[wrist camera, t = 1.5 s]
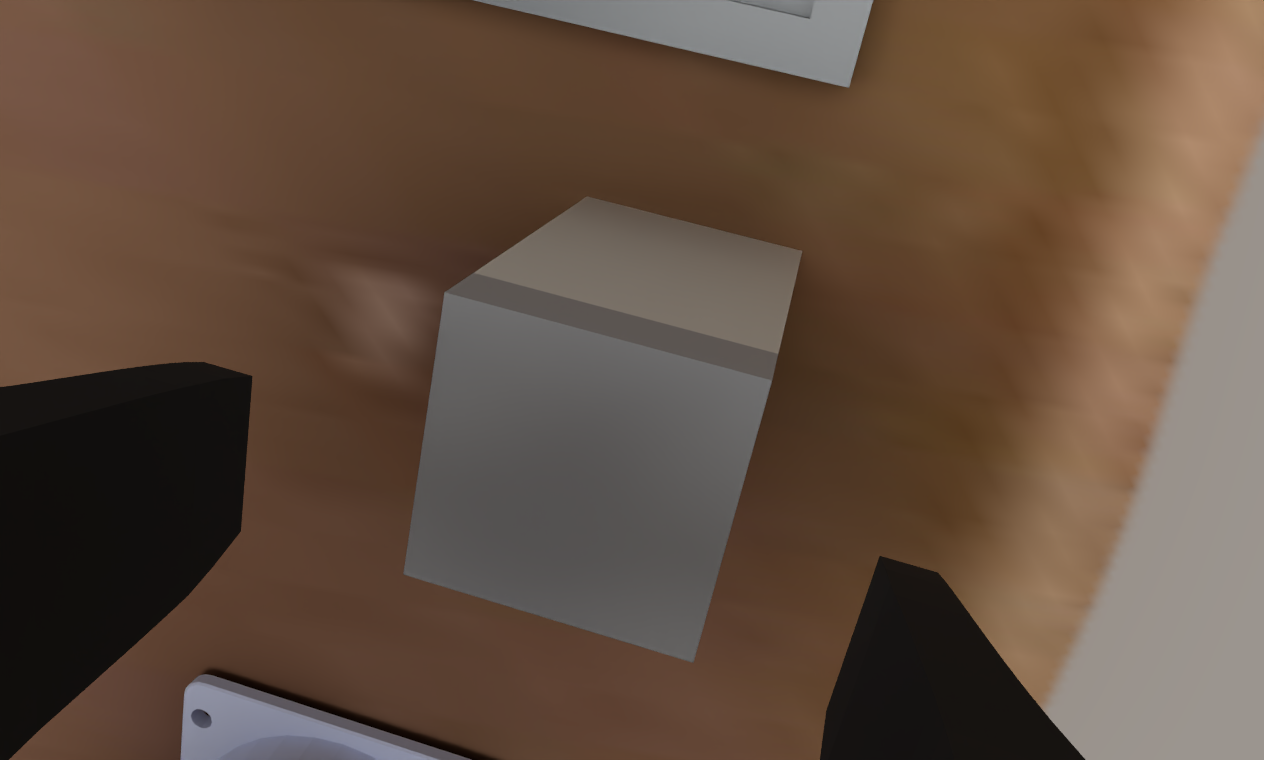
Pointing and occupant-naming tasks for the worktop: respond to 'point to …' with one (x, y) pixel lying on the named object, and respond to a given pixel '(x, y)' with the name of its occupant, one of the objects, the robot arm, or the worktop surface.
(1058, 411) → the worktop surface
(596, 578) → the light grey tall block
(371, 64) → the worktop surface
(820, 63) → the tray
